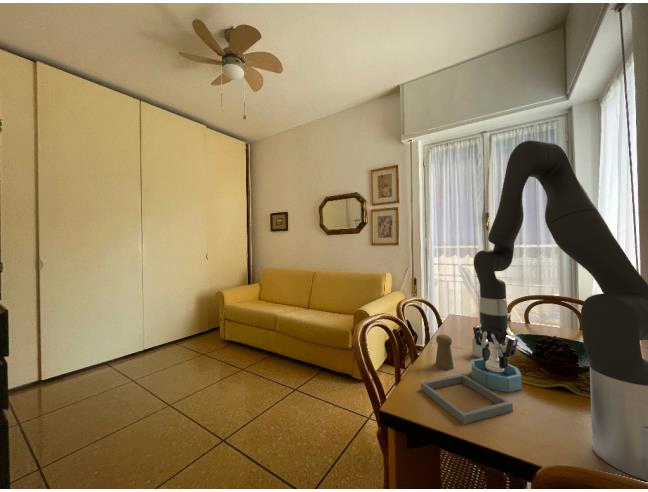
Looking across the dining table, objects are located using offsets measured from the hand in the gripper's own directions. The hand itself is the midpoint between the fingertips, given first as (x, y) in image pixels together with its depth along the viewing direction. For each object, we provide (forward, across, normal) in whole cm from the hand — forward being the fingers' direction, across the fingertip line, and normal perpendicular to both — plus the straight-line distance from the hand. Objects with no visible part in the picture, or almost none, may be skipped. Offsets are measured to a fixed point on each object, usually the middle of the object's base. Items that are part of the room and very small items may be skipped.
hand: (494, 363), depth 80 cm
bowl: (+5, 0, 0) cm, 5 cm away
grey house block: (+5, +16, -13) cm, 21 cm away
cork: (+5, +13, +8) cm, 16 cm away
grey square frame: (+5, -5, +18) cm, 20 cm away
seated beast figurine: (+6, +30, -42) cm, 52 cm away
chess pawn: (+2, 0, 0) cm, 2 cm away
